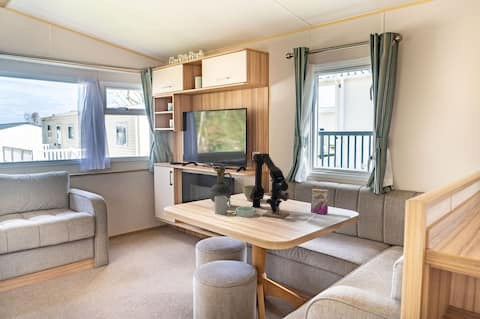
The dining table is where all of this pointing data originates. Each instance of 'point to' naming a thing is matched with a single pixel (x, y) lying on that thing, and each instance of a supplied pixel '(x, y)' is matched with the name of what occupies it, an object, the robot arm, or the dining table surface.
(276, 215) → the walnut lid
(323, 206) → the candy bar box
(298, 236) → the dining table surface
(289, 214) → the rubber mat
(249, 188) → the planter bowl
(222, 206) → the mug
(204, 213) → the dining table surface
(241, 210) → the sage dish
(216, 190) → the pitcher
